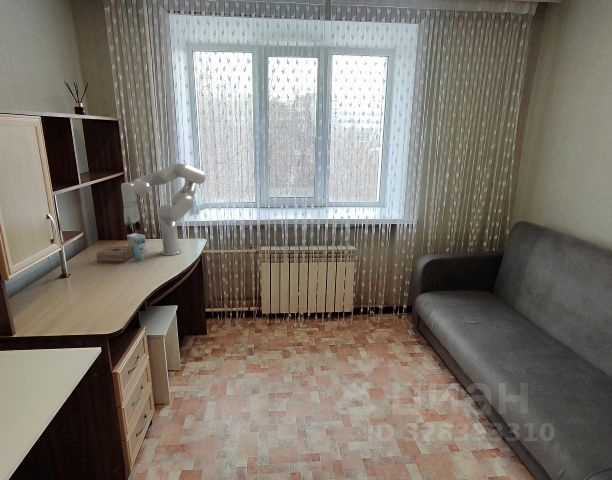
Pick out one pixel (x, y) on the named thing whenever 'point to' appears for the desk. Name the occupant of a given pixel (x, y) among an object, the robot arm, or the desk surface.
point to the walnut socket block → (115, 254)
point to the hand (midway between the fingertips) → (134, 231)
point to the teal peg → (137, 253)
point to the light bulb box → (137, 241)
